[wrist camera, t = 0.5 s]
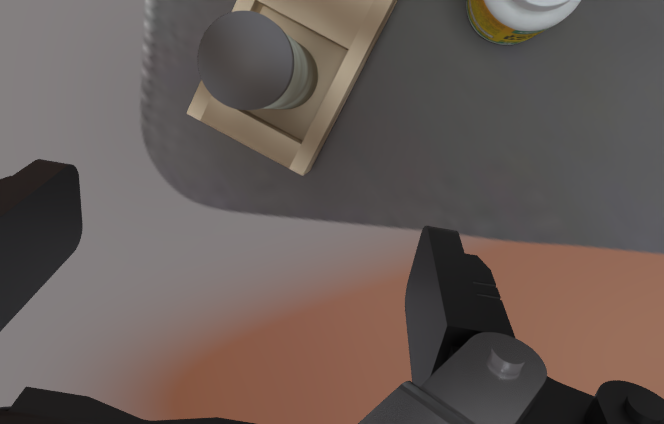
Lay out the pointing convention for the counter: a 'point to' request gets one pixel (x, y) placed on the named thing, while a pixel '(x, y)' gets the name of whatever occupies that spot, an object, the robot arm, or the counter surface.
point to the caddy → (284, 72)
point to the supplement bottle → (516, 18)
